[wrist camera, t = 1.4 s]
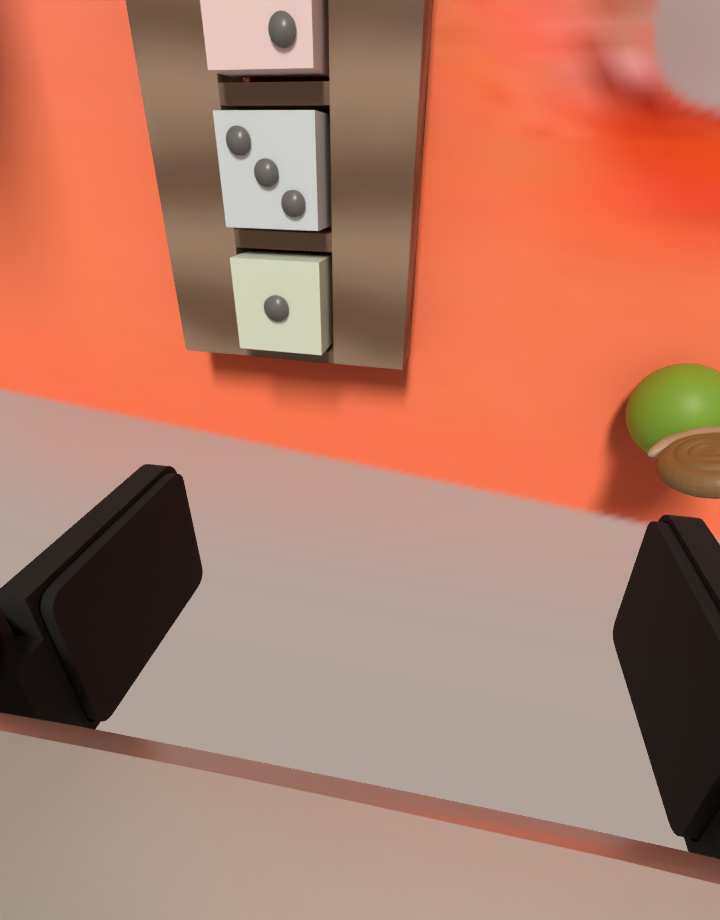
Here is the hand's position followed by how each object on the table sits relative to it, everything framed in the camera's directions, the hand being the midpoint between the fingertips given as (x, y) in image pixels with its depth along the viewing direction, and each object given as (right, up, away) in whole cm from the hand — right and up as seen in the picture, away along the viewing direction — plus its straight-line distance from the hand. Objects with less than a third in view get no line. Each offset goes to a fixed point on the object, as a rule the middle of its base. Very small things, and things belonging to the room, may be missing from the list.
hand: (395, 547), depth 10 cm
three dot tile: (-5, +17, +16) cm, 24 cm away
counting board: (-4, +18, +18) cm, 26 cm away
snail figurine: (+18, +6, +19) cm, 27 cm away
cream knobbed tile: (-5, +11, +19) cm, 23 cm away
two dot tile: (-5, +23, +13) cm, 26 cm away
